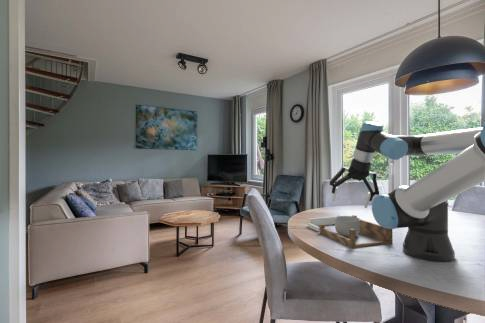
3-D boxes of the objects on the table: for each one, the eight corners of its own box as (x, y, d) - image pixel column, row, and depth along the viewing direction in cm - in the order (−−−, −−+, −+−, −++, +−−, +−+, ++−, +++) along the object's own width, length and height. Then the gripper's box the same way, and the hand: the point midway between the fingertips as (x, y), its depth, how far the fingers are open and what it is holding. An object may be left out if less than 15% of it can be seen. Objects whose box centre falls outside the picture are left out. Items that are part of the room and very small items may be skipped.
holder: (351, 228, 126) (351, 220, 126) (317, 231, 121) (317, 223, 121) (337, 223, 136) (337, 216, 136) (306, 226, 131) (306, 218, 131)
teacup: (364, 239, 109) (364, 220, 109) (339, 239, 109) (339, 220, 109) (351, 230, 123) (351, 214, 123) (329, 230, 123) (329, 214, 123)
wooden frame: (392, 243, 103) (392, 226, 103) (352, 248, 98) (352, 230, 98) (354, 229, 124) (354, 215, 124) (319, 232, 119) (319, 218, 119)
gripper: (392, 161, 105) (377, 205, 113) (330, 150, 110) (320, 192, 119) (397, 168, 98) (380, 214, 106) (331, 156, 104) (320, 200, 112)
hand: (349, 203), depth 113 cm, fingers open, 13 cm apart
